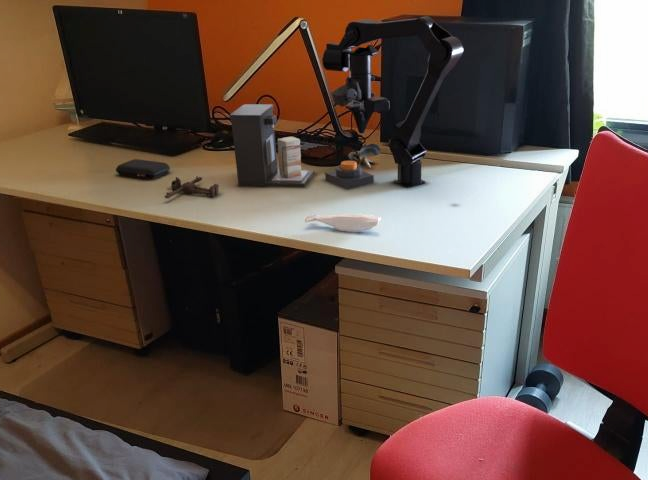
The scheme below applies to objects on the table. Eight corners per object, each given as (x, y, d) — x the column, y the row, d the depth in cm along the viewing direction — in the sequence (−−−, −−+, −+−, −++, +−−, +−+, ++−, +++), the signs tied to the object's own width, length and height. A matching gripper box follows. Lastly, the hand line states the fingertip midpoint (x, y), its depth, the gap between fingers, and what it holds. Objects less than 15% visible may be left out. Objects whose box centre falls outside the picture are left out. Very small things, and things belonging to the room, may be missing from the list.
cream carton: (287, 178, 200) (285, 141, 195) (279, 175, 203) (276, 139, 198) (302, 174, 203) (300, 138, 197) (294, 171, 206) (291, 135, 200)
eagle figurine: (372, 168, 207) (386, 155, 213) (358, 147, 205) (373, 134, 211) (355, 179, 213) (369, 166, 218) (341, 158, 211) (356, 145, 216)
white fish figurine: (376, 237, 165) (375, 220, 163) (304, 230, 170) (302, 213, 168) (383, 229, 169) (383, 212, 167) (312, 222, 174) (311, 206, 172)
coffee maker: (314, 173, 209) (310, 104, 198) (304, 188, 197) (299, 115, 187) (251, 172, 212) (244, 104, 201) (237, 186, 200) (229, 115, 190)
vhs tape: (335, 153, 227) (335, 146, 226) (321, 159, 222) (320, 152, 221) (300, 147, 234) (300, 141, 233) (285, 153, 229) (285, 146, 228)
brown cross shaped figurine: (197, 195, 185) (149, 184, 189) (198, 210, 187) (151, 200, 191) (231, 175, 199) (186, 166, 203) (232, 190, 201) (187, 181, 205)
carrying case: (111, 176, 212) (150, 182, 206) (109, 166, 210) (148, 171, 204) (135, 167, 220) (173, 172, 214) (133, 157, 218) (172, 161, 212)
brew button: (360, 169, 199) (359, 162, 198) (347, 172, 197) (346, 165, 196) (350, 165, 202) (350, 159, 201) (338, 168, 200) (337, 162, 199)
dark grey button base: (373, 183, 200) (373, 168, 197) (347, 189, 195) (347, 175, 193) (351, 174, 207) (350, 160, 205) (325, 180, 203) (324, 166, 201)
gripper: (316, 72, 193) (319, 131, 202) (356, 81, 180) (357, 144, 189) (349, 67, 199) (351, 125, 207) (391, 75, 186) (390, 137, 194)
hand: (361, 133), depth 199 cm, fingers closed
